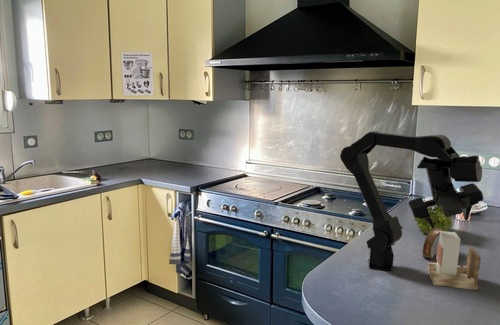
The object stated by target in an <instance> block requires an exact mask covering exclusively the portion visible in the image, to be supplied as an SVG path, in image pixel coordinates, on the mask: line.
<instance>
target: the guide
mask: <svg viewBox="0 0 500 325" xmlns="http://www.w3.org/2000/svg"><path fill="white" fill-rule="evenodd" d="M481 259H482V257H481V256H480V255H479V253H478V252H477V251H476V250H475V249H474V247H471V246H469V247H468V251H467V258H466V265H463V264H460V265H457V273H456V276H455V275H447V274H438V272H437V270H436V267H437V262H431V261H430V262H428V263H427V264H428V266H427V269H426V270H427V273H428V275H429V276H430V280H431V282H432V284H433V285H434V286H442V287H450V288H458V289H465V290H475V291H478V290H479V285H478V282H479V275H480V273H479V272H480V267H481Z"/></svg>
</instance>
